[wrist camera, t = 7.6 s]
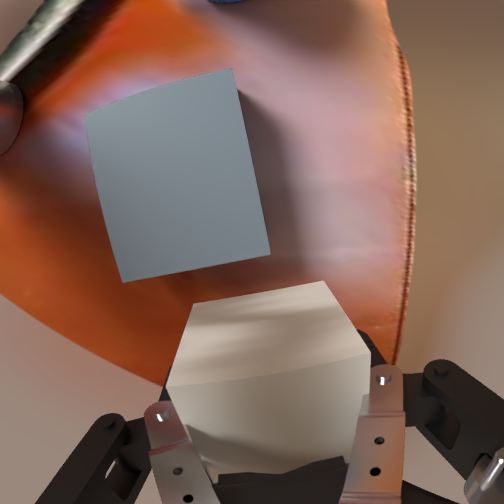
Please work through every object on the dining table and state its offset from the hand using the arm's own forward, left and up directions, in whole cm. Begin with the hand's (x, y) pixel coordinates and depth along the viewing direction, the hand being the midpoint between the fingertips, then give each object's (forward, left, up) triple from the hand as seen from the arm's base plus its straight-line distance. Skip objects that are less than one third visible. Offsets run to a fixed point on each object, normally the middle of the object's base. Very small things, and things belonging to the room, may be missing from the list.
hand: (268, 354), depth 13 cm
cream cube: (0, 0, -1) cm, 1 cm away
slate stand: (-5, +8, -17) cm, 19 cm away
